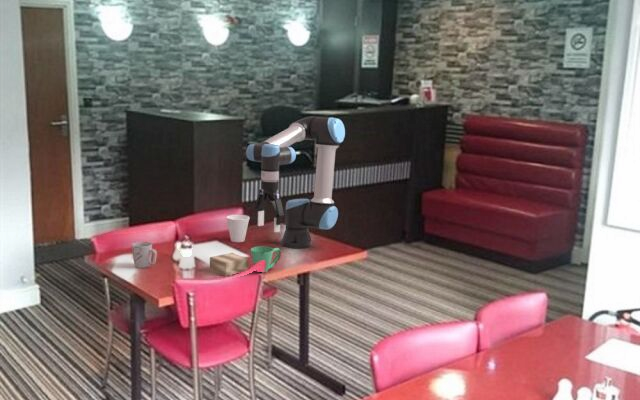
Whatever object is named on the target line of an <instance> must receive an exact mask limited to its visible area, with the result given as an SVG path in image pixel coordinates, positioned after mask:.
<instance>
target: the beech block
mask: <svg viewBox="0 0 640 400" xmlns="http://www.w3.org/2000/svg"><path fill="white" fill-rule="evenodd" d="M249 260H250V259H249V258H248V257H245V256H242V255H241V254H240V255H239V254H237V253H233V252H230V253H225V254H219V255H213V256H210V257H209V270H210V271H212V272H214V273H215V274H216V273H217V274H219V275H221V276H224V277H228V276H227V275H230V276H233V275H232V274H235V273H238V272H241V271H244V270H246V269H248V268H249V264H250V263H249V262H250V261H249ZM248 270H249V269H248ZM235 275H236V274H235Z"/></svg>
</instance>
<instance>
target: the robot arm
mask: <svg viewBox="0 0 640 400" xmlns="http://www.w3.org/2000/svg"><path fill="white" fill-rule="evenodd" d="M345 135H346V129H345V124H344V123H343V121H342V120H341V119H340V118H336V117H332V116H331V117H329V116H327V117H326V116H315V115H313V116H306V117H304V118H301V119H299V120H295V121H294V122H292V123H291V124H290V125H289V126H288V128H286V129H284V130H283V131H280V132H278V133H277V134H275V135H273V136H271V137H270V138H268V139H266V140H264V141H262V142H260V143H258V144H257V143H251V144H249V145H248V146H247V148H246V150H245V153H246V154H245V155H246V158H247V159H248V160H249V161H252V162H259V163H261V173H260V176H261V177H260V179H261V182H260V188H259V190H258V195H257V199H256V202H255V205H254V208H255V209H256V211H257V226H258V227H261V226H264V225H265V224H264V223H265V207H266V205H267V203H269V204H270V205H271V207H272V211H273V213H274V217H273V233H281V223H282V221H281V220H282V217H285V226H284V228H285V229H284V233H283V235H282V238H281V245H282V247H285V248H288V249H289V248H290V249H305V248H309V247H311V246H312V236H311V234H310V231H309V228H316V229H319V230H331V229H332V228H333V227H335V224H336V222H337V220H338V216H339V211H338V208H337V207H336V206H335V201H334V200H333V199H332V197H333V184H334V176H335V175H334V174H335V161H336V151H337V149H338V148H340V144H341V143H342V142H344V139H345V137H346V136H345ZM305 140H307V141H315V142H314V144H315V146H316V147H317V155H316V156H317V157H316V167H315V168H316V169H315V179H314V190H313V191H314V193H313V194H314V195H313V197H312V199H308V198H294V199H289V200H287V201H286V203H285V204H286V205H285V208H283V207H284V206H283V203H282V198H281V193H277V191H278V190H279V179H280V166H283V165H284V166H285V165H290V164H293V162H294V161H295V160H296V159H297V158H296V157H297V153H296V150H295V149H294V148H293V147H291V146H292V145H293V144H295V143H299V142H302V141H305ZM284 209H285V211H284ZM284 212H285V213H284Z"/></svg>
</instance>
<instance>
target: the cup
mask: <svg viewBox="0 0 640 400" xmlns="http://www.w3.org/2000/svg"><path fill="white" fill-rule="evenodd" d="M225 217H226V222H227V227H228V232H229V237H230V241H231V242H233V243H242V242H245V239H246V236H247V235H246V234H247V232H248V231H247V230H248V225H249V221H250V216H249V215H246V214H230V215H226V216H225Z"/></svg>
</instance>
